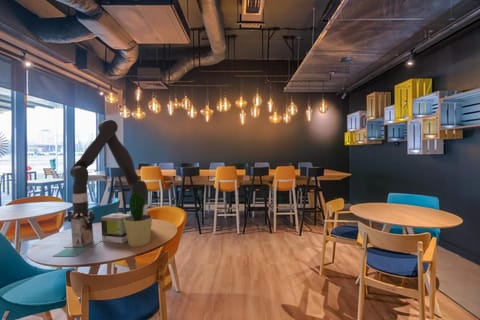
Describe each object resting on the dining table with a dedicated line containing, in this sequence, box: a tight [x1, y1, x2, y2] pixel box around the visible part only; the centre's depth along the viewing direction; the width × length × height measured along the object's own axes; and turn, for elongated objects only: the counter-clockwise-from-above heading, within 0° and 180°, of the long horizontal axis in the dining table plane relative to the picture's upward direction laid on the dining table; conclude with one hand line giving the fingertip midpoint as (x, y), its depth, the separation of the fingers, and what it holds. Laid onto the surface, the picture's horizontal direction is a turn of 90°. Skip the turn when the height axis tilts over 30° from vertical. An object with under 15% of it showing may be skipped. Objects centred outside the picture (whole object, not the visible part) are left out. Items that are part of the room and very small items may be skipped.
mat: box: [52, 247, 89, 258], centre depth 141 cm, size 12×10×1 cm
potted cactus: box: [124, 191, 153, 248], centre depth 152 cm, size 15×15×30 cm
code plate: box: [63, 240, 102, 249], centre depth 153 cm, size 16×10×1 cm, turn 87°
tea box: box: [100, 212, 132, 244], centre depth 159 cm, size 15×10×15 cm
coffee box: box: [70, 213, 95, 248], centre depth 153 cm, size 9×6×16 cm
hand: (81, 228), depth 153 cm, fingers open, 8 cm apart
